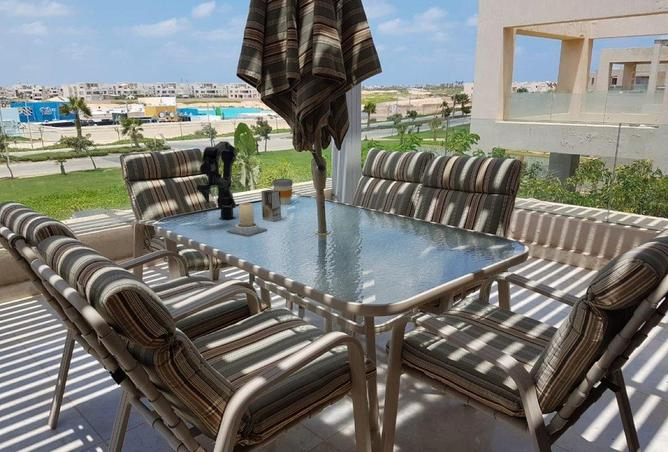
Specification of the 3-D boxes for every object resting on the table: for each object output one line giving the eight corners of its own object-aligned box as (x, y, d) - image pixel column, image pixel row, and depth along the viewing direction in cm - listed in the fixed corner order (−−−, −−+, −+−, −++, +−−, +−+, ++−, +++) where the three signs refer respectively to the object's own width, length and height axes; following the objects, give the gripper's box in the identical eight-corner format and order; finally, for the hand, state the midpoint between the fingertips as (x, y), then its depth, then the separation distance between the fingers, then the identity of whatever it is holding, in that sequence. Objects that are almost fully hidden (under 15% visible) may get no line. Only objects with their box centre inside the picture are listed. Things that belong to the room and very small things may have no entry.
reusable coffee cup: (285, 206, 312) (284, 182, 308) (269, 204, 318) (268, 180, 314) (296, 202, 322) (296, 179, 319) (281, 200, 329) (280, 178, 325)
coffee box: (281, 220, 276) (280, 191, 273) (272, 222, 272) (271, 192, 268) (270, 217, 282) (270, 189, 279) (261, 219, 278) (261, 190, 274)
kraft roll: (242, 227, 255) (241, 202, 252) (255, 228, 255) (254, 202, 251) (238, 231, 248) (237, 205, 245) (252, 231, 248) (251, 205, 245)
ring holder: (246, 226, 261) (246, 220, 260) (267, 230, 254) (266, 224, 253) (227, 232, 250) (226, 225, 249) (247, 236, 242) (247, 229, 241)
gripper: (210, 175, 243) (212, 206, 247) (237, 171, 258) (239, 200, 262) (194, 173, 249) (196, 204, 253) (222, 169, 264) (223, 198, 268)
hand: (214, 201), depth 259 cm, fingers open, 9 cm apart
